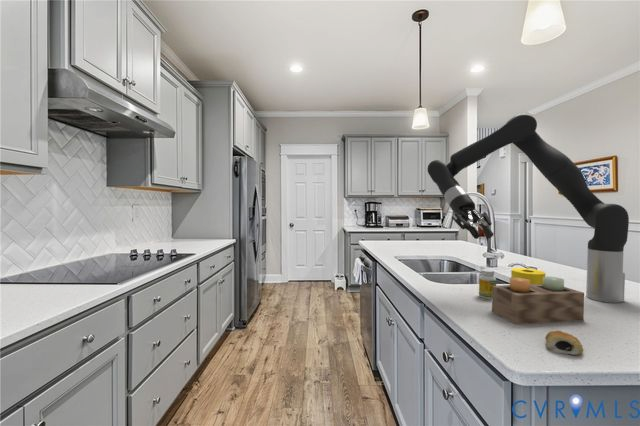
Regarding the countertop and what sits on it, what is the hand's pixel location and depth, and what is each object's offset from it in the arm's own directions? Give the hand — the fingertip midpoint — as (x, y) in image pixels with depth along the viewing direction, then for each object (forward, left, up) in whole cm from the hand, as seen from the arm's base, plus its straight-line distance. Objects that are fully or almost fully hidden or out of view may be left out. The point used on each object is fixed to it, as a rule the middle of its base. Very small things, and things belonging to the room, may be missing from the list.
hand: (484, 236), depth 104 cm
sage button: (-13, +13, -14) cm, 23 cm away
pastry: (+3, +32, -23) cm, 39 cm away
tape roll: (-20, -4, -22) cm, 30 cm away
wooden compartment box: (-8, +13, -22) cm, 27 cm away
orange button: (-2, +13, -14) cm, 19 cm away
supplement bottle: (-6, -6, -22) cm, 24 cm away
